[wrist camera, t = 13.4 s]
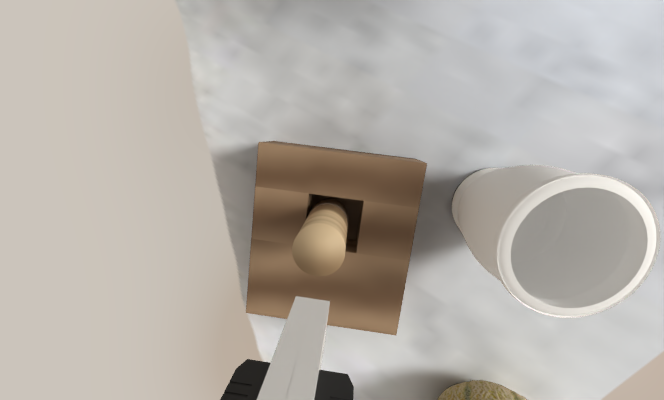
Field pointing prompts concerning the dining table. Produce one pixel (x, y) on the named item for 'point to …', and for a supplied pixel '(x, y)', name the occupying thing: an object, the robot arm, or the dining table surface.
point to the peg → (322, 239)
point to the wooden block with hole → (362, 234)
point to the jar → (558, 236)
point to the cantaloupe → (479, 392)
